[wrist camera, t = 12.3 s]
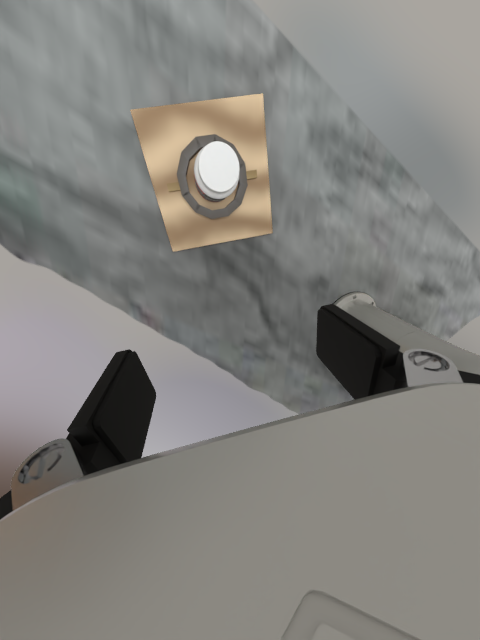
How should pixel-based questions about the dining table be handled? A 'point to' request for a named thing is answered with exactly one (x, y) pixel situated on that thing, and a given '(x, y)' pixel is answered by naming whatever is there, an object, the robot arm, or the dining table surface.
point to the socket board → (179, 158)
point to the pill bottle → (216, 171)
